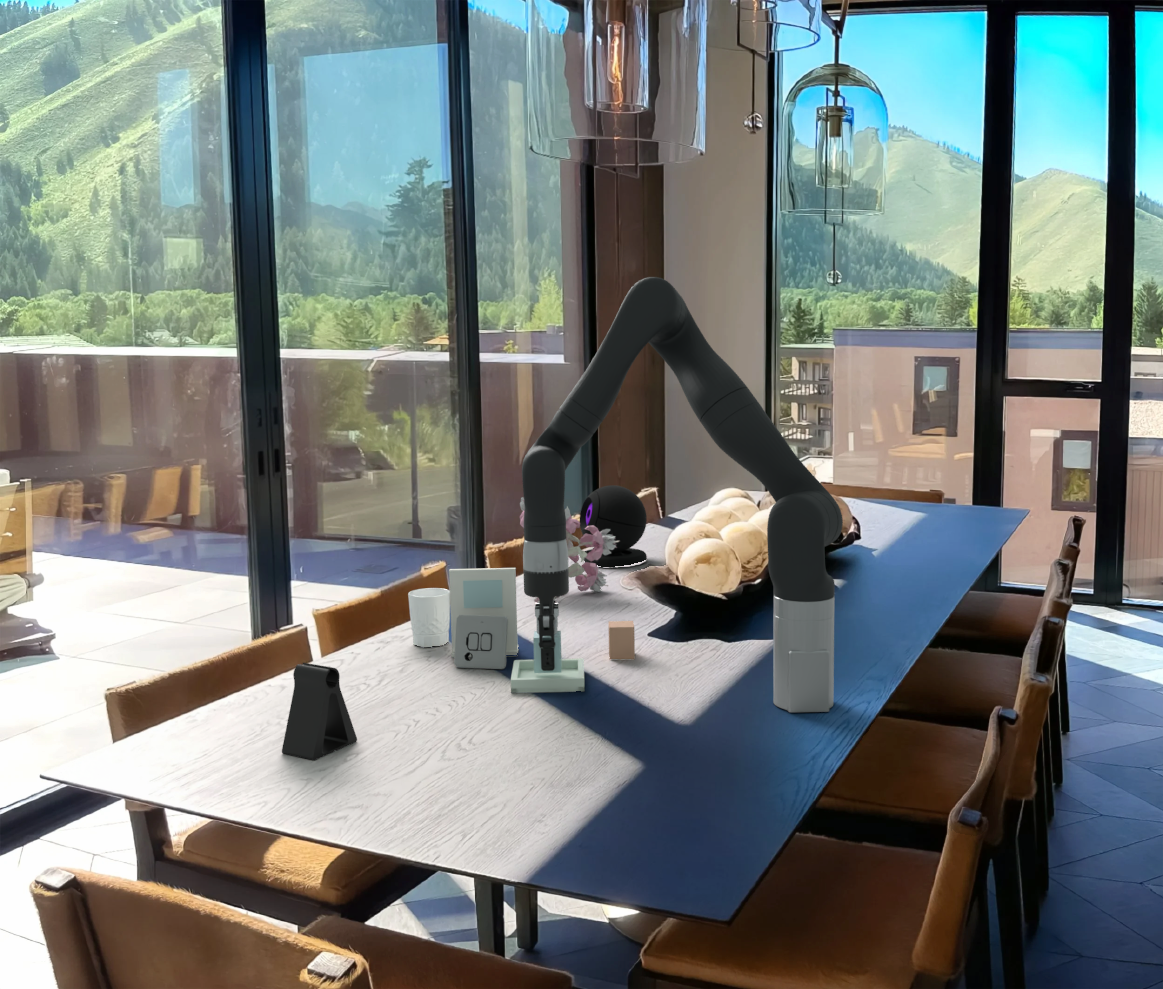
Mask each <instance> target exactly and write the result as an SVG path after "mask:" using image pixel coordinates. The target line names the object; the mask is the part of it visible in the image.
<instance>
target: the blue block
mask: <svg viewBox="0 0 1163 989" xmlns="http://www.w3.org/2000/svg"><path fill="white" fill-rule="evenodd" d="M532 639H533V660H534V673H561V666H562V663H561V659H562V630H557V634H555V643H556V646H555V648H554V662H555V668H554V670H552V671H543V670H542V669H541V649H540V647H539V643H540V642H539V634H538V633H537V630H534V631H533V638H532ZM543 640H551V636H543Z"/></svg>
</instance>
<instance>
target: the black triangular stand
mask: <svg viewBox="0 0 1163 989" xmlns="http://www.w3.org/2000/svg"><path fill="white" fill-rule="evenodd" d="M292 676H293V681H294V682H293V683H294V685H293V686H294V687H293V692H292V696H291V697H292V698H291V703H290V709H289V712H288V717H287V723H286V728H285V732H284V737H283V738H284V739H283V743H282V749H281V753H282V754H284V755H287V756H293V757H297V758H302V759H306V760H311V761H314V762H315V761H317V760H319V759H321V758H324V757H325V756H327V755H330V754H333V753H335V752H336V751H339V750H342V749H344V748H346V747H348V746H350V745H353V744H356V742H357V741H358V737H357V734H356V732H355V729H354V726H353V723H352V720H351V716H350V714H349V711H348V708H347V705H346V702H345V699H344V695H343V692H342V689H341V686H340V672H339V670H338V669H337V668H335V667H331V666H326V665H325V666H324V665H320V664H314V663H307V662H302V663H300V664H297V665H296V666H295V667H294V670H293V674H292Z"/></svg>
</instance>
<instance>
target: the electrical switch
mask: <svg viewBox="0 0 1163 989" xmlns="http://www.w3.org/2000/svg"><path fill="white" fill-rule="evenodd" d="M507 627H508V619H507V617H506V616H484V615H459V616H458V617H457V622H456V640H455V657H453V658H454V660H453V661H454V662H453V664H454V666H455V667H456V668H459V669H478V670H479V669H481V670H483V669H484V670H504V669H505V668H506V667H507V656H506V648H507ZM470 654H471V655H472V657H468V656H469V655H470Z"/></svg>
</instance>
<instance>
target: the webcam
mask: <svg viewBox="0 0 1163 989" xmlns="http://www.w3.org/2000/svg"><path fill="white" fill-rule="evenodd" d="M579 522H580V527H579V529H580V531H581V534H582V536H583V535H584V534H585V533H586V534H591V535H593V534H592V533H591V532H590V531H589V530H586V529H585V528H586V527H587V526H592V525H593V526H595V527H596V528H598V530H599V532H601V531H602V530H605V529H610V531H609V532H608V533H607V534H606V535H608V534H610V535H613V536H616V537H615V538H616V539H615V538H614V540H615V541H619V542H617V543H615V544H613V545H616V544H617V545H616V547H617V548H614V549H613V550H610V549H609V551H610V552H611V554H608V555H604V554H603V553H602V555H601V557H600V558H599V559H598V560H593V561H589V560H588V559H586V558H584V560H583V562H584V561H585V562H588V563H595V564H596V565H598V566H601V567H615V566H624V565H631V564H634V563H638V562H642V561H644V560H646V559H647V557H648V556H647V554H646V552H645V550H641V549H638V548H632V547H634V546H635V545H636V544H637V543H638V542H639V541H640V540H641V538H642V537H643V535H644V533H645V530H646V527H647V522H648V521H647V511H646V508H645V506H644V503H643V501H642V500H641V499H640V497H639V496H638V495H637V494H636V493H634V492H633V491H632V490H630V489H628V488H626V487H624V486H620V485H612V484H611V485H606V486H605V485H604V486H601V487H599V488H597V489H595V490H594V491H592V492H591V493H590V494H588V496H586V498H585V500H584V501H583V503H582V506H581V510H580V513H579ZM609 540H611V539H609ZM592 549H593V548H592ZM592 549H588V550H584V551H585V552H586V553H587V554H588V553H589V552H591V550H592ZM647 560H648V559H647Z"/></svg>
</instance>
